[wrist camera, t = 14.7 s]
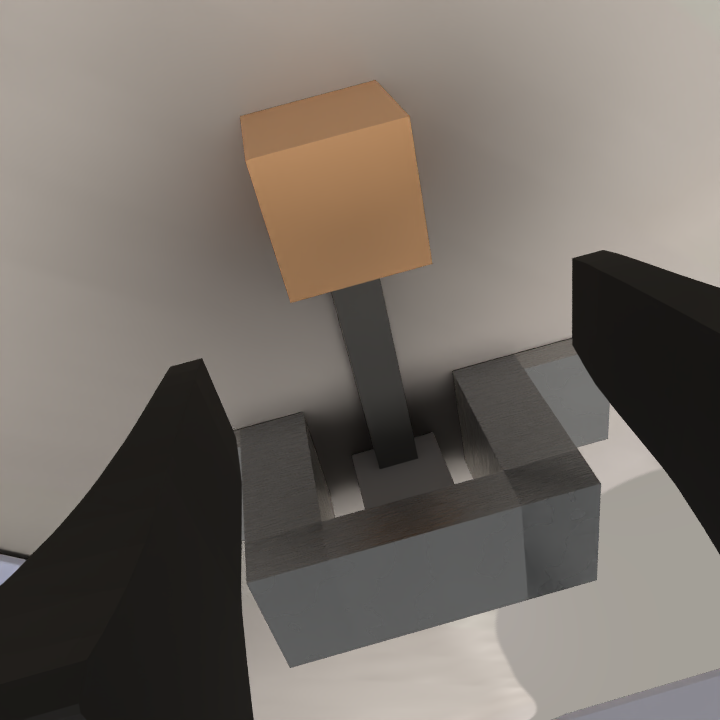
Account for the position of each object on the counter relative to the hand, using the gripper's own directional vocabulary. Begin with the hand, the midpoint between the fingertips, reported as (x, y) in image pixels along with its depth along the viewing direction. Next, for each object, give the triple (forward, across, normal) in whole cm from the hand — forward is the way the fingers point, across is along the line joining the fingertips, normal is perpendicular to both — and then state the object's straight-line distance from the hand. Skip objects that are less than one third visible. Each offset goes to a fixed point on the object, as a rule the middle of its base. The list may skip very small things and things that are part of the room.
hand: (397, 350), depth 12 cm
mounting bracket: (+9, 0, +11) cm, 14 cm away
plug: (+9, 0, +5) cm, 11 cm away
